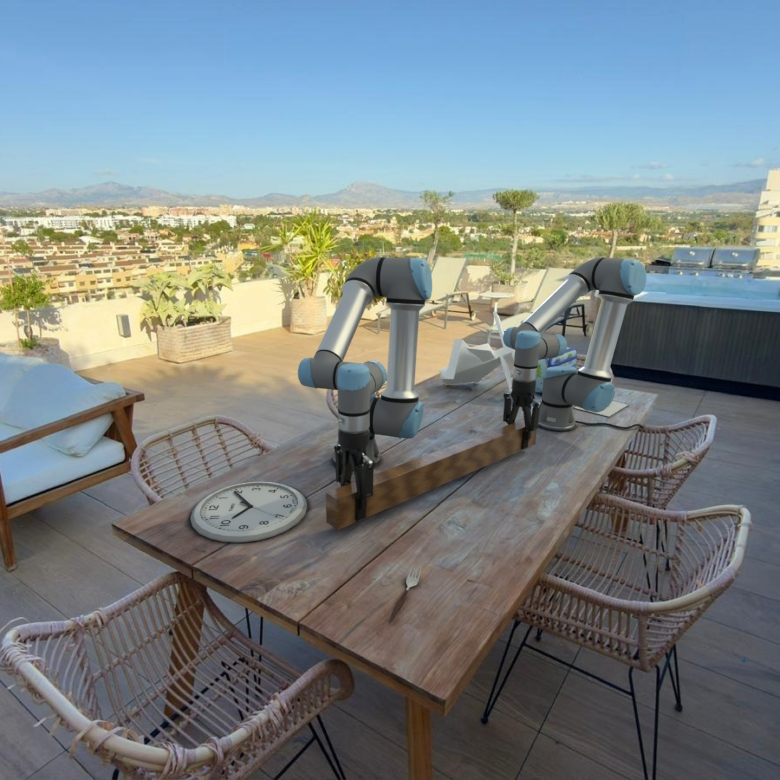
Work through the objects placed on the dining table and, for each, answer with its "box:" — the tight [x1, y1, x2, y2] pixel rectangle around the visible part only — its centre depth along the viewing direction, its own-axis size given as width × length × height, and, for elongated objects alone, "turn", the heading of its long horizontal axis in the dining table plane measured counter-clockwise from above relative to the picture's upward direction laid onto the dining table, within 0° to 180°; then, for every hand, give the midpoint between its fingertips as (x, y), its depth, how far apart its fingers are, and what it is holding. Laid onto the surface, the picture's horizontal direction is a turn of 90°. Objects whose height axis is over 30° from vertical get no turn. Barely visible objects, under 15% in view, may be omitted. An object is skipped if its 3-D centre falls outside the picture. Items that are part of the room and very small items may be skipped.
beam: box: [325, 418, 538, 531], centre depth 153 cm, size 83×5×8 cm, turn 131°
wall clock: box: [190, 481, 308, 544], centre depth 139 cm, size 30×2×30 cm
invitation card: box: [573, 400, 629, 418], centre depth 226 cm, size 21×1×15 cm
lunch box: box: [534, 346, 578, 394], centre depth 244 cm, size 26×11×21 cm, turn 135°
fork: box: [391, 565, 422, 620], centre depth 108 cm, size 3×16×2 cm, turn 160°
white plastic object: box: [438, 310, 515, 393], centre depth 245 cm, size 37×45×31 cm
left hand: (354, 514), depth 132 cm, fingers closed on beam, 5 cm apart
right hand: (517, 445), depth 176 cm, fingers closed on beam, 5 cm apart
